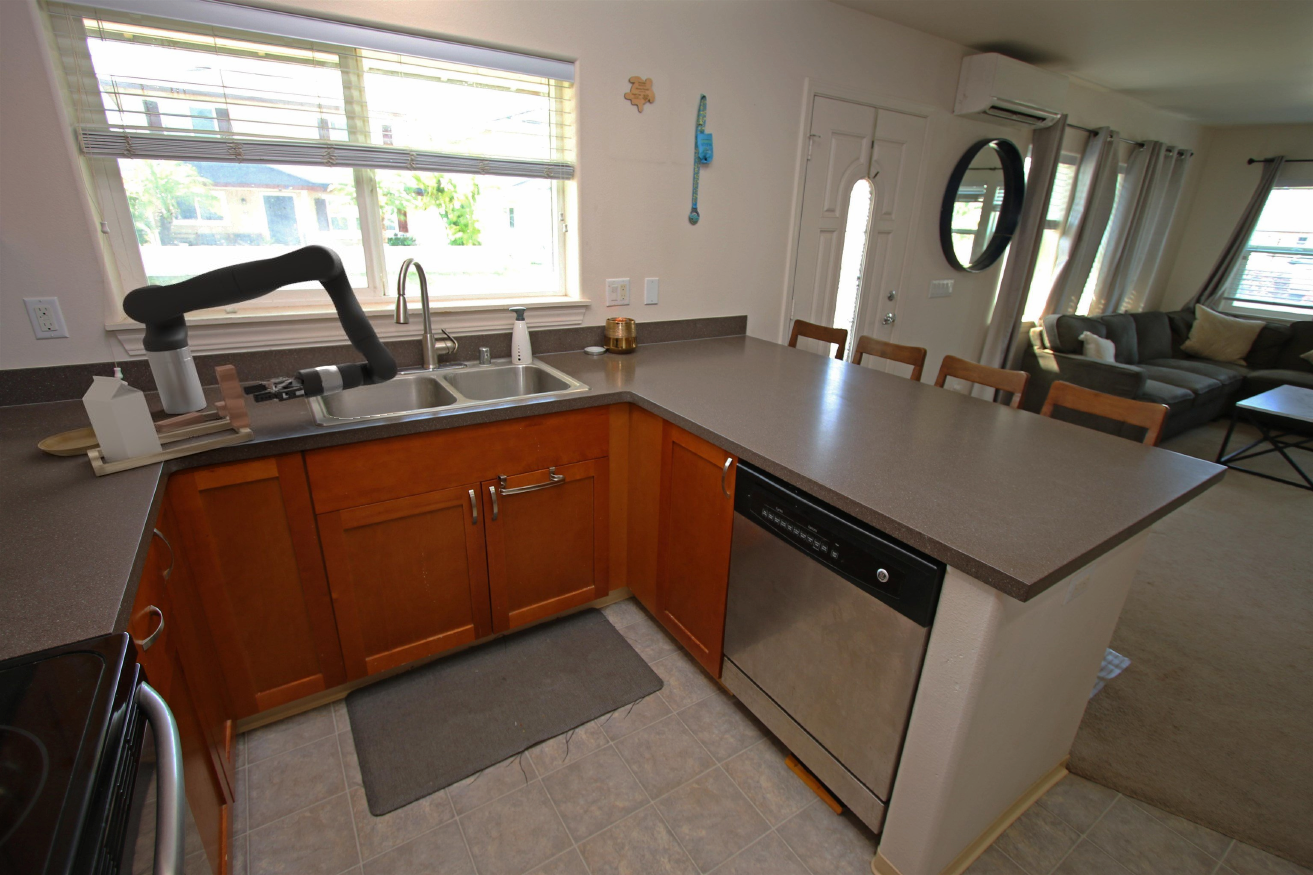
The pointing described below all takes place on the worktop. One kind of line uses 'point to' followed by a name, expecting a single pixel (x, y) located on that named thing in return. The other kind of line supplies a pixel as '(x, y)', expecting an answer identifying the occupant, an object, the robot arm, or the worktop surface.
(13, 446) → the worktop surface
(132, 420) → the milk carton
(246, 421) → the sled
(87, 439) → the plant saucer
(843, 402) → the worktop surface
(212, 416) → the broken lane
